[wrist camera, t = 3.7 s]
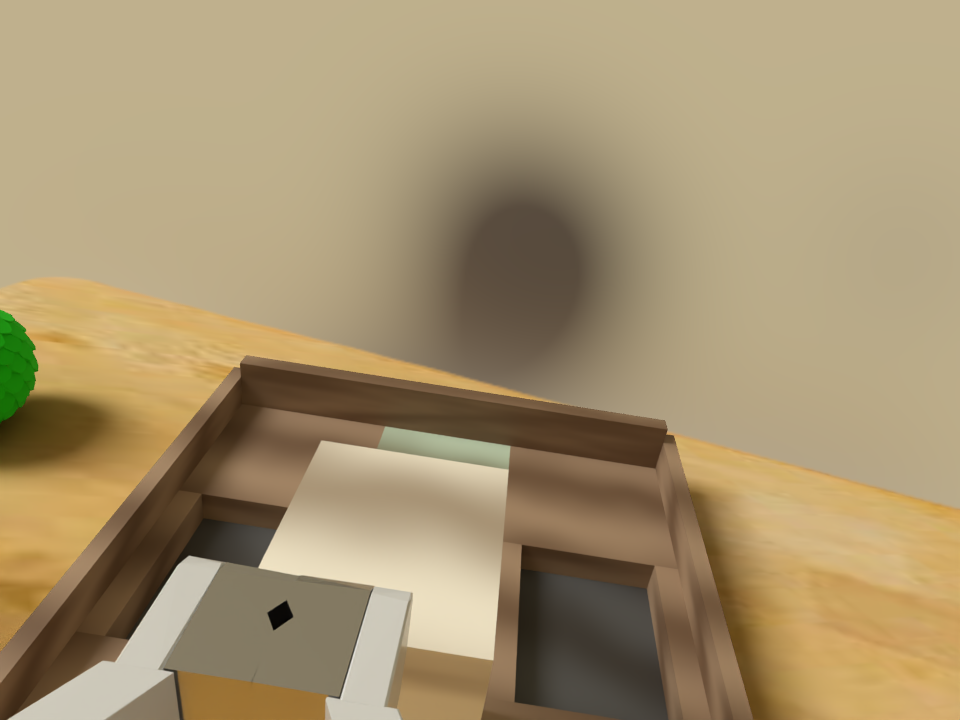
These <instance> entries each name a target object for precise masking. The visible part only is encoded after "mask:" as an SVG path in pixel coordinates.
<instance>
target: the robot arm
mask: <svg viewBox="0 0 960 720" xmlns="http://www.w3.org/2000/svg"><path fill="white" fill-rule="evenodd" d="M412 602H413V593H412V592H406V591H400V590H394V589H388V588H381V587H375V586H372V585H365V584H358V583H352V582H345V581H338V580H332V579H325V578H318V577H311V576H305V575H301V576H297V575H292V574H287V573H281V572H276V571H271V570H266V569H260V568H255V567H250V566H244V565H239V564H234V563H229V562H221V561H215V560H210V559H204V558H199V557H193V556H188V557H187V558H186V559H184V560H183V561H182V562H181V563H180V564H178V565H177V567H176V569H175V570H174V572H173V573H172V575H171V576H170V578H169V579H168V581H167V582H166V584H165V586H164V587H163V589H162V590H161V592H160V593H159V595H158V596H157V598H156V600H155V601H154V603H153V604H152V606H151V607H150V609H149V610H148V612H147V613H146V615H145V617H144V618H143V620H142V621H141V623H140V624H139V626H138V627H137V629H136V631H135V632H134V634H133V635H132V637H131V638H130V640H129V641H128V643H127V644H126V646H125V648H124V649H123V651H122V652H121V654H120V655H119V657H118V658H117V660H116V661H115V662H111V661H101V662H100V663H98V664H96V665H95V666H93V667H92V668H90V669H88V670H87V671H85V672H84V673H82V674H80V675H79V676H77V677H75V678H74V679H72V680H71V681H69V682H67V683H66V684H64V685H63V686H61V687H59V688H58V689H56V690H54V691H53V692H51V693H50V694H48V695H46V696H45V697H43V698H41V699H40V700H38V701H37V702H35V703H33V704H32V705H30V706H29V707H27V708H25V709H24V710H22V711H20V712H19V713H17V714H16V715H14V716H12V717H11V718H9V719H8V720H403V718H402V716H401V713H400V711H399V709H397V705H398V700H399V696H400V690H401V684H402V677H403V671H404V664H405V658H406V651H407V643H408V635H409V627H410V619H411V611H412Z"/></svg>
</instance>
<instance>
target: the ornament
mask: <svg viewBox="0 0 960 720" xmlns="http://www.w3.org/2000/svg"><path fill="white" fill-rule="evenodd" d="M25 332H26V329H25V328H24V327H23V326H22V325H21V324H20V323H18V322H17V321H15V319H14V318H13V317H12V315H11V314H8V313H6V312H4V311H2V310H0V423H1V422H2V420H3V421H4V420H7V419H8V418H10V417H11V416H13V415H14V413H15V412H16V410H17V409H18V407H19V408H21V407H22V406H23V405H24V404H25V401H26V398H27V396H29V393H30V391H31V390H34V385H35V381H36V379H35V375H34V372H37V371H38V363H37V360H36V358H35V356H34V354H33V350H36V349H35V345H34V344H33V342H32V341H31V340H30V338H29V337H28V336H27V335H26V334H25Z"/></svg>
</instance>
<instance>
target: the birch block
mask: <svg viewBox="0 0 960 720" xmlns="http://www.w3.org/2000/svg"><path fill="white" fill-rule="evenodd" d="M508 472H509V470H507V469H500V468H494V467H488V466H481V465H475V464H469V463H462V462H456V461H450V460H443V459H437V458H430V457H424V456H418V455H411V454H405V453H399V452H392V451H386V450H380V449H373V448H367V447H360V446H354V445H348V444H341V443H335V442H329V441H322V440H321V442H320V444H319V446H318V448H317V451H316V453H315V455H314V457H313V459H312V461H311V463H310V465H309V467H308V469H307V471H306V473H305V475H304V477H303V479H302V481H301V483H300V485H299V487H298V489H297V491H296V493H295V495H294V497H293V499H292V501H291V503H290V505H289V507H288V509H287V511H286V513H285V515H284V517H283V519H282V521H281V523H280V525H279V527H278V529H277V531H276V533H275V535H274V537H273V539H272V541H271V543H270V545H269V547H268V549H267V551H266V553H265V555H264V557H263V559H262V561H261V563H260V565H259V567H258V568H260V569H266V570H271V571H276V572H281V573H287V574H292V575H297V576H301V575H305V576H311V577H318V578H325V579H332V580H338V581H345V582H352V583H358V584H365V585H372V586H375V587H381V588H388V589H394V590H400V591H406V592H412V593H413V602H412V611H411V619H410V627H409V635H408V643H407V651H406V658H405V664H404V671H403V677H402V684H401V690H400V696H399V700H398V705H397V709H399V711H400V713H401V716H402V718H403V720H481V717H482V712H483V708H484V703H485V698H486V693H487V688H488V684H489V679H490V674H491V669H492V665H493V659H494V646H495V634H496V621H497V609H498V596H499V584H500V571H501V559H502V547H503V534H504V522H505V509H506V497H507V484H508Z"/></svg>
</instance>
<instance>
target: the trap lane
mask: <svg viewBox="0 0 960 720" xmlns="http://www.w3.org/2000/svg"><path fill="white" fill-rule="evenodd" d="M667 430H668V429H667V426H666V422H665V420H658V419H652V418H646V417H638V416H632V415H626V414H620V413H613V412H607V411H600V410H594V409H588V408H581V407H575V406H568V405H562V404H556V403H549V402H543V401H536V400H530V399H523V398H517V397H511V396H504V395H498V394H491V393H485V392H478V391H472V390H466V389H459V388H453V387H446V386H440V385H433V384H427V383H421V382H414V381H408V380H401V379H395V378H388V377H382V376H376V375H369V374H363V373H356V372H350V371H344V370H337V369H331V368H324V367H318V366H311V365H305V364H299V363H292V362H286V361H279V360H273V359H266V358H260V357H254V356H247V355H246V356H245V358H244V359H243V360H242V361H241V363H240V368H237V367H234V368H233V370H232V371H231V372H230V373H229V375H228V376H227V377H226V378H225V379H224V381H223V382H222V383H221V384H220V385H219V387H218V388H217V389H216V390H215V392H214V393H213V394H212V395H211V396H210V398H209V399H208V400H207V401H206V403H205V404H204V405H203V406H202V407H201V409H200V410H199V411H198V412H197V413H196V415H195V416H194V417H193V418H192V420H191V421H190V422H189V423H188V424H187V426H186V427H185V428H184V429H183V431H182V432H181V433H180V434H179V435H178V437H177V438H176V439H175V440H174V441H173V443H172V444H171V445H170V446H169V448H168V449H167V450H166V451H165V452H164V454H163V455H162V456H161V457H160V459H159V460H158V461H157V462H156V463H155V465H154V466H153V467H152V468H151V469H150V471H149V472H148V473H147V474H146V476H145V477H144V478H143V479H142V480H141V482H140V483H139V484H138V485H137V487H136V488H135V489H134V490H133V491H132V493H131V494H130V495H129V496H128V497H127V499H126V500H125V501H124V502H123V504H122V505H121V506H120V507H119V508H118V510H117V511H116V512H115V513H114V515H113V516H112V517H111V518H110V519H109V521H108V522H107V523H106V524H105V525H104V527H103V528H102V529H101V530H100V532H99V533H98V534H97V535H96V536H95V538H94V539H93V540H92V541H91V543H90V544H89V545H88V546H87V547H86V549H85V550H84V551H83V552H82V553H81V555H80V556H79V557H78V558H77V560H76V561H75V562H74V563H73V564H72V566H71V567H70V568H69V569H68V571H67V572H66V573H65V574H64V575H63V577H62V578H61V579H60V580H59V581H58V583H57V584H56V585H55V586H54V588H53V589H52V590H51V591H50V592H49V594H48V595H47V596H46V597H45V599H44V600H43V601H42V602H41V603H40V605H39V606H38V607H37V608H36V609H35V611H34V612H33V613H32V614H31V616H30V617H29V618H28V619H27V620H26V622H25V623H24V624H23V625H22V627H21V628H20V629H19V630H18V631H17V633H16V634H15V635H14V636H13V637H12V639H11V640H10V641H9V642H8V644H7V645H6V646H5V647H4V648H3V650H2V651H1V652H0V720H8V719H9V718H11V717H12V716H14V715H16V714H17V713H19V712H20V711H22V710H24V709H25V708H27V707H29V706H30V705H32V704H33V703H35V702H37V701H38V700H40V699H41V698H43V697H45V696H46V695H48V694H50V693H51V692H53V691H54V690H56V689H58V688H59V687H61V686H63V685H64V684H66V683H67V682H69V681H71V680H72V679H74V678H75V677H77V676H79V675H80V674H82V673H84V672H85V671H87V670H88V669H90V668H92V667H93V666H95V665H96V664H98V663H100V662H101V661H111V662H115V661H116V660H117V658H118V657H119V655H120V654H121V652H122V651H123V649H124V648H125V646H126V644H127V643H128V641H129V640H130V638H131V637H132V635H133V634H134V632H135V631H136V629H137V627H138V626H139V624H140V623H141V621H142V620H143V618H144V617H145V615H146V613H147V612H148V610H149V609H150V607H151V606H152V604H153V603H154V601H155V600H156V598H157V596H158V595H159V593H160V592H161V590H162V589H163V587H164V586H165V584H166V582H167V581H168V579H169V578H170V576H171V575H172V573H173V572H174V570H175V569H176V567H177V565H178V564H180V563H181V562H182V561H183V560H184V559H186V558H187V557H188V556H193V557H199V558H204V559H210V560H215V561H221V562H229V563H234V564H239V565H244V566H250V567H255V568H258V567H259V565H260V563H261V561H262V559H263V557H264V555H265V553H266V551H267V549H268V547H269V545H270V543H271V541H272V539H273V537H274V535H275V533H276V531H277V529H278V527H279V525H280V523H281V521H282V519H283V517H284V515H285V513H286V511H287V509H288V507H289V505H290V503H291V501H292V499H293V497H294V495H295V493H296V491H297V489H298V487H299V485H300V483H301V481H302V479H303V477H304V475H305V473H306V471H307V469H308V467H309V465H310V463H311V461H312V459H313V457H314V455H315V453H316V451H317V448H318V446H319V444H320V442H321V440H322V441H329V442H335V443H341V444H348V445H354V446H360V447H367V448H373V449H380V450H386V451H392V452H399V453H405V454H411V455H418V456H424V457H430V458H437V459H443V460H450V461H456V462H462V463H469V464H475V465H481V466H488V467H494V468H500V469H507V470H509V472H508V484H507V497H506V509H505V522H504V534H503V547H502V559H501V571H500V584H499V596H498V609H497V621H496V634H495V646H494V659H493V665H492V669H491V674H490V679H489V684H488V688H487V693H486V698H485V703H484V708H483V712H482V717H481V720H753V716H752V713H751V709H750V706H749V702H748V698H747V695H746V691H745V688H744V684H743V681H742V677H741V673H740V670H739V666H738V663H737V659H736V656H735V652H734V649H733V645H732V641H731V638H730V634H729V631H728V627H727V624H726V620H725V617H724V613H723V609H722V606H721V602H720V599H719V595H718V592H717V588H716V584H715V581H714V577H713V574H712V570H711V567H710V563H709V560H708V556H707V552H706V549H705V545H704V542H703V538H702V535H701V531H700V528H699V524H698V520H697V517H696V513H695V510H694V506H693V503H692V499H691V495H690V492H689V488H688V485H687V481H686V478H685V474H684V471H683V467H682V463H681V460H680V456H679V453H678V449H677V446H676V442H675V439H674V436H673V435H666V433H667Z"/></svg>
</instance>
